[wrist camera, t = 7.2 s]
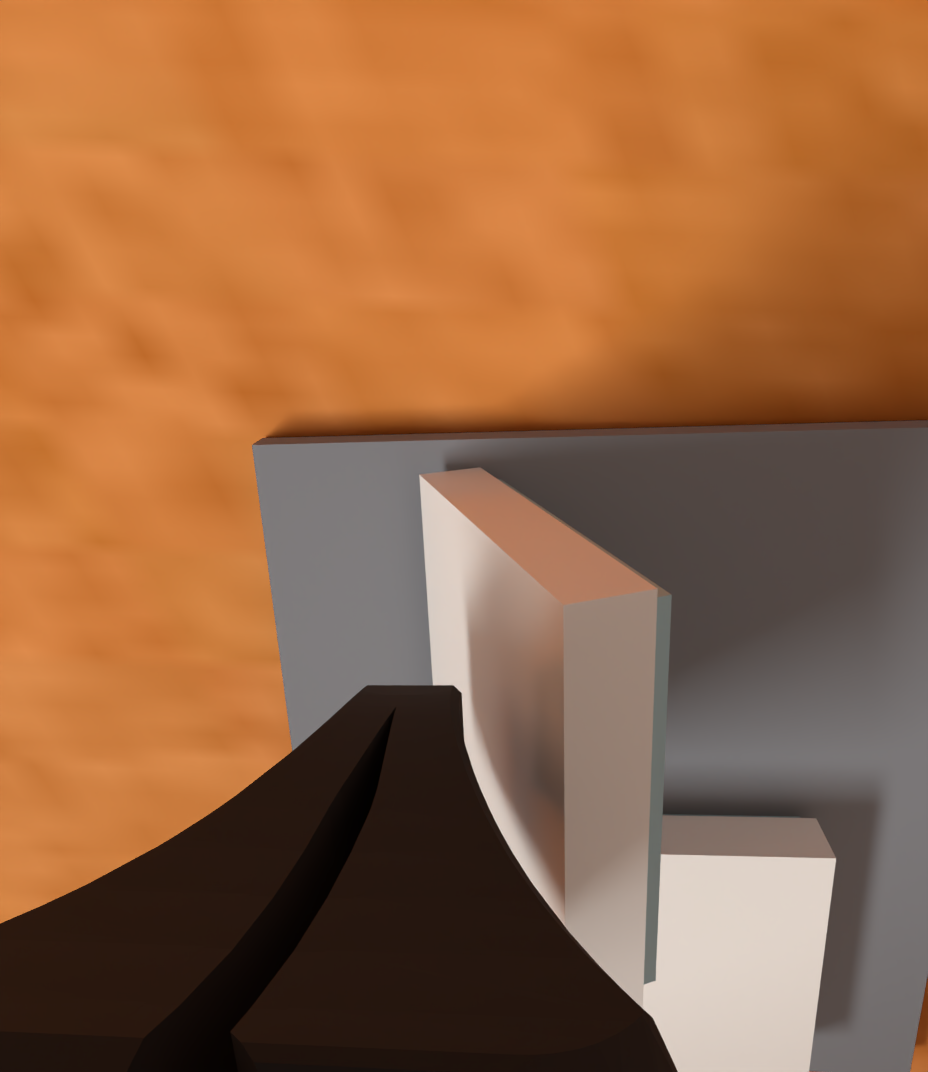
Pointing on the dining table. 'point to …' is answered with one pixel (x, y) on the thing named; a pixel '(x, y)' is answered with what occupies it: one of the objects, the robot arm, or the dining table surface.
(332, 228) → the dining table surface
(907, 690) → the mat
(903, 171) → the dining table surface
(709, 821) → the tile
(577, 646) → the tile
